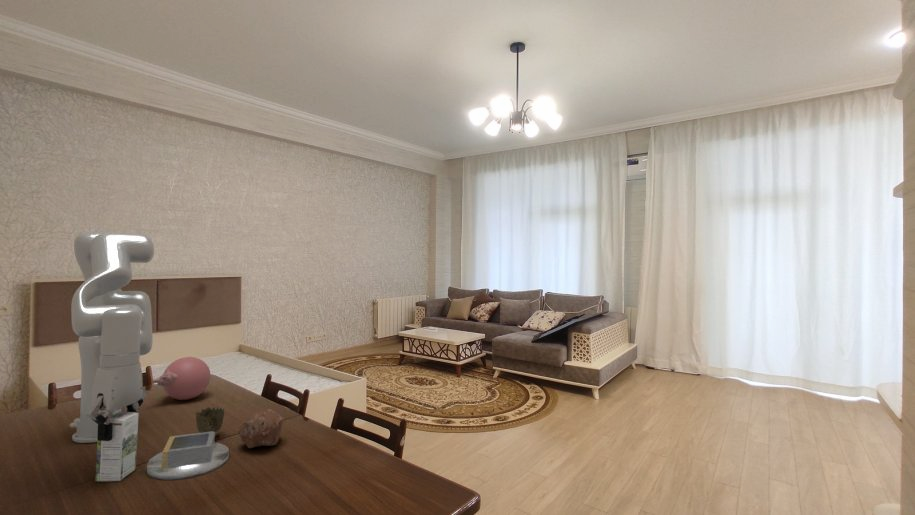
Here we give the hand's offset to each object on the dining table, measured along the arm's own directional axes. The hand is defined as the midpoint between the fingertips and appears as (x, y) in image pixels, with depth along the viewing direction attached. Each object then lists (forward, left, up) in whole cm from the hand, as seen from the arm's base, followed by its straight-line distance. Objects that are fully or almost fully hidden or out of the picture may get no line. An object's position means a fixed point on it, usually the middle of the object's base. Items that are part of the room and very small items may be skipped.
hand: (117, 433), depth 106 cm
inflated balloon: (-25, +53, -10) cm, 60 cm away
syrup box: (0, 0, -10) cm, 10 cm away
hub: (+12, +9, -10) cm, 18 cm away
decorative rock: (+24, +22, -10) cm, 34 cm away
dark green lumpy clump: (+7, +24, -10) cm, 27 cm away
